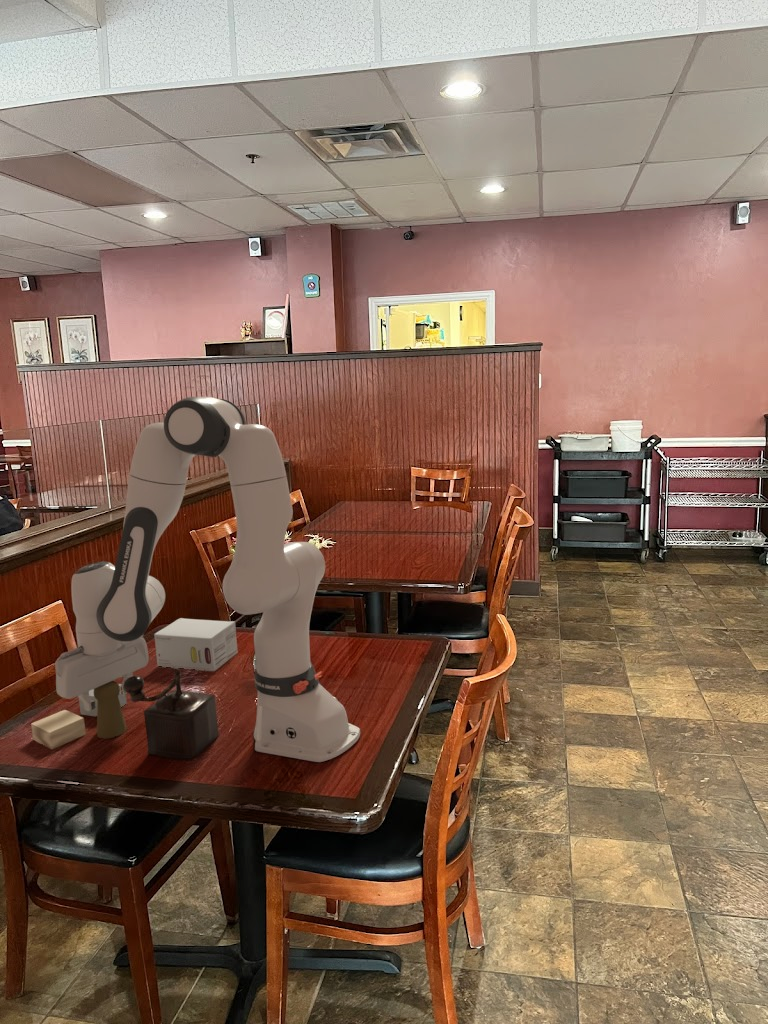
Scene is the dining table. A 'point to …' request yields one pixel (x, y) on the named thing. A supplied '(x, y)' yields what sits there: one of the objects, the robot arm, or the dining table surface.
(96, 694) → the cork
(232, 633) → the supplement box
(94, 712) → the grey block
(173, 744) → the pepper mill
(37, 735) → the maple block
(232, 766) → the dining table surface
